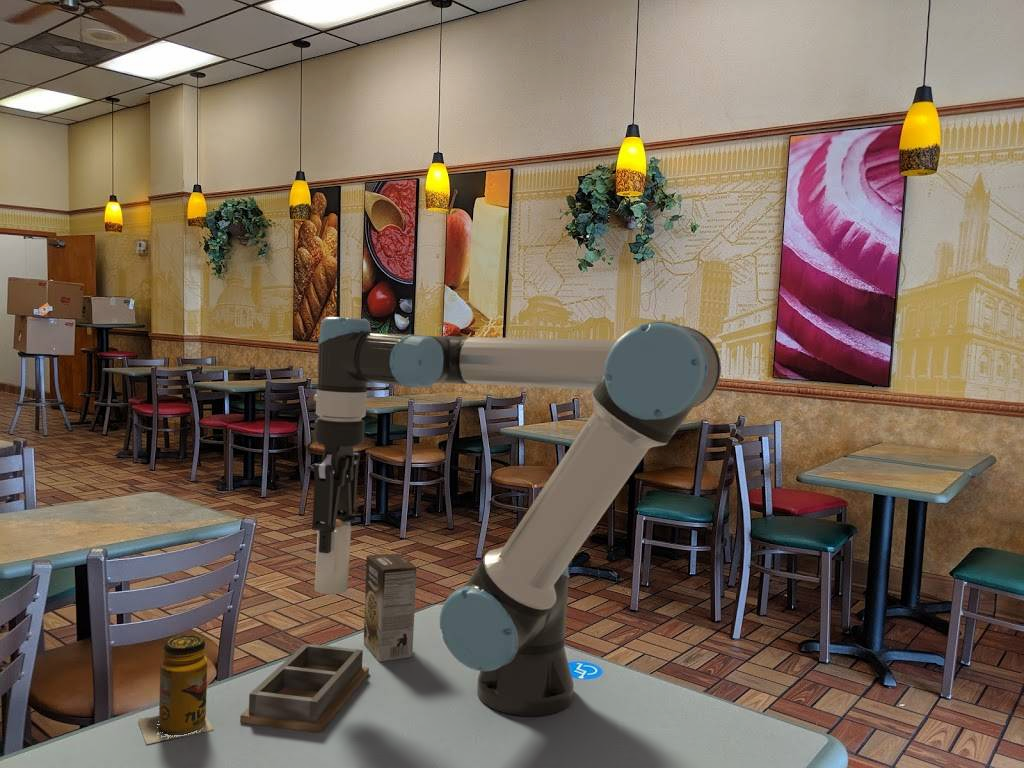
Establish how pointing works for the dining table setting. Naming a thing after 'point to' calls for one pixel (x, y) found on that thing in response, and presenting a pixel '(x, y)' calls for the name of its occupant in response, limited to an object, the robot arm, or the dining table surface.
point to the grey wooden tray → (307, 688)
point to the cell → (339, 579)
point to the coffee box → (389, 606)
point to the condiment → (180, 691)
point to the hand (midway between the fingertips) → (332, 566)
